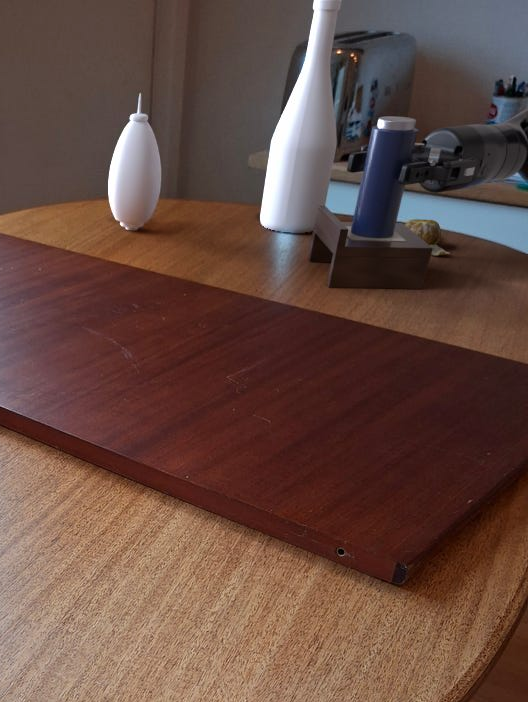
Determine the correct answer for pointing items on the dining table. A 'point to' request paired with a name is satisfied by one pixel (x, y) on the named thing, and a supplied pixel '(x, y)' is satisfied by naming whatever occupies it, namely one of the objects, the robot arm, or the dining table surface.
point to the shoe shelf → (368, 255)
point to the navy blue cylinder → (383, 177)
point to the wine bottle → (304, 136)
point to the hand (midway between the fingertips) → (375, 168)
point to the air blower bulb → (135, 173)
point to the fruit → (428, 233)
